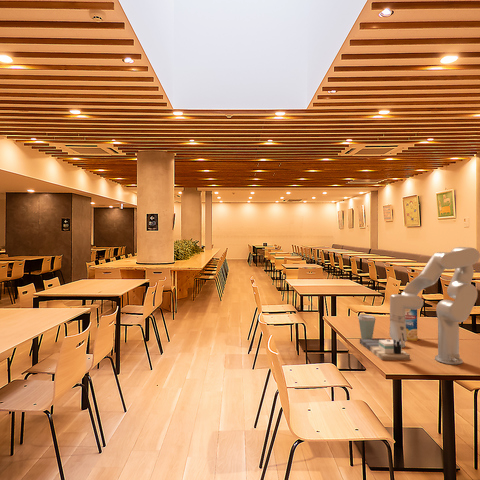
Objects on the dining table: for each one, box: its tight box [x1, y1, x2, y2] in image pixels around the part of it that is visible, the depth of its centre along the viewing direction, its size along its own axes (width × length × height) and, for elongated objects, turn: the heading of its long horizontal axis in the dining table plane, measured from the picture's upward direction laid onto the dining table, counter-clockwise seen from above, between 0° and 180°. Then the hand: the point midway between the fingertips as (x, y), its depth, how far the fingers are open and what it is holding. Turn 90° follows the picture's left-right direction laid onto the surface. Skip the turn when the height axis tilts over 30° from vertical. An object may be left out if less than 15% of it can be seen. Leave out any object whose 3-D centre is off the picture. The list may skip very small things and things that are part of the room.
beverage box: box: [405, 309, 418, 342], centre depth 236 cm, size 7×11×22 cm, turn 66°
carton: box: [379, 339, 403, 353], centre depth 202 cm, size 8×9×6 cm
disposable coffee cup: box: [357, 313, 376, 339], centre depth 236 cm, size 11×11×15 cm
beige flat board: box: [359, 338, 411, 361], centre depth 211 cm, size 32×15×2 cm, turn 2°
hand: (397, 353), depth 193 cm, fingers closed
